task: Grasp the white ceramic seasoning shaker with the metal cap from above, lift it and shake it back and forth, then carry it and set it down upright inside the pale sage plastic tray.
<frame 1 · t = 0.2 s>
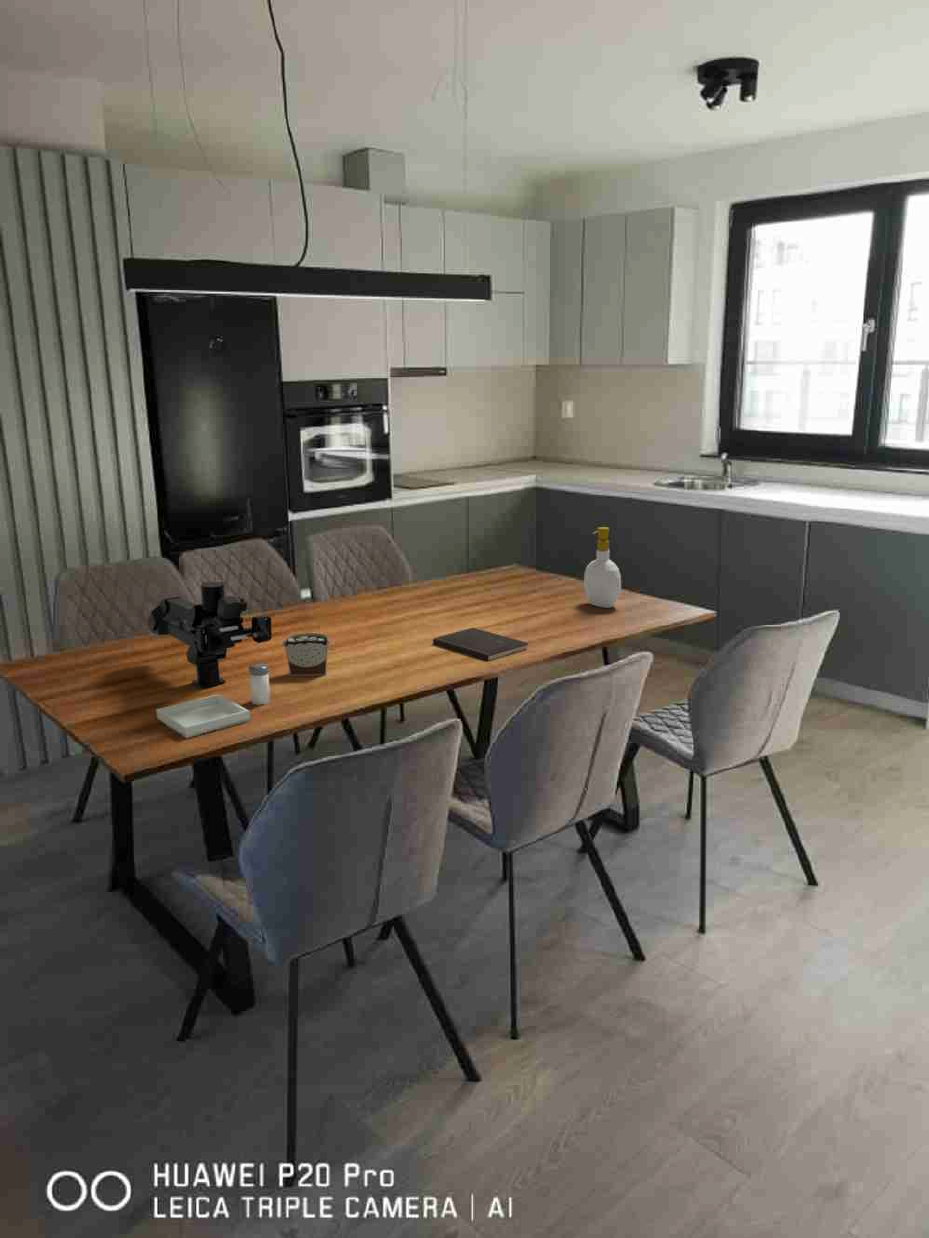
hand: (251, 641, 226), 17 cm above the table, tool horizontal, fingers open, 9 cm apart
shaker: (261, 701, 235), on the table
soap bottle: (600, 606, 318), on the table
hardcover book: (480, 649, 276), on the table
tray: (203, 720, 223), on the table
food container: (309, 672, 257), on the table
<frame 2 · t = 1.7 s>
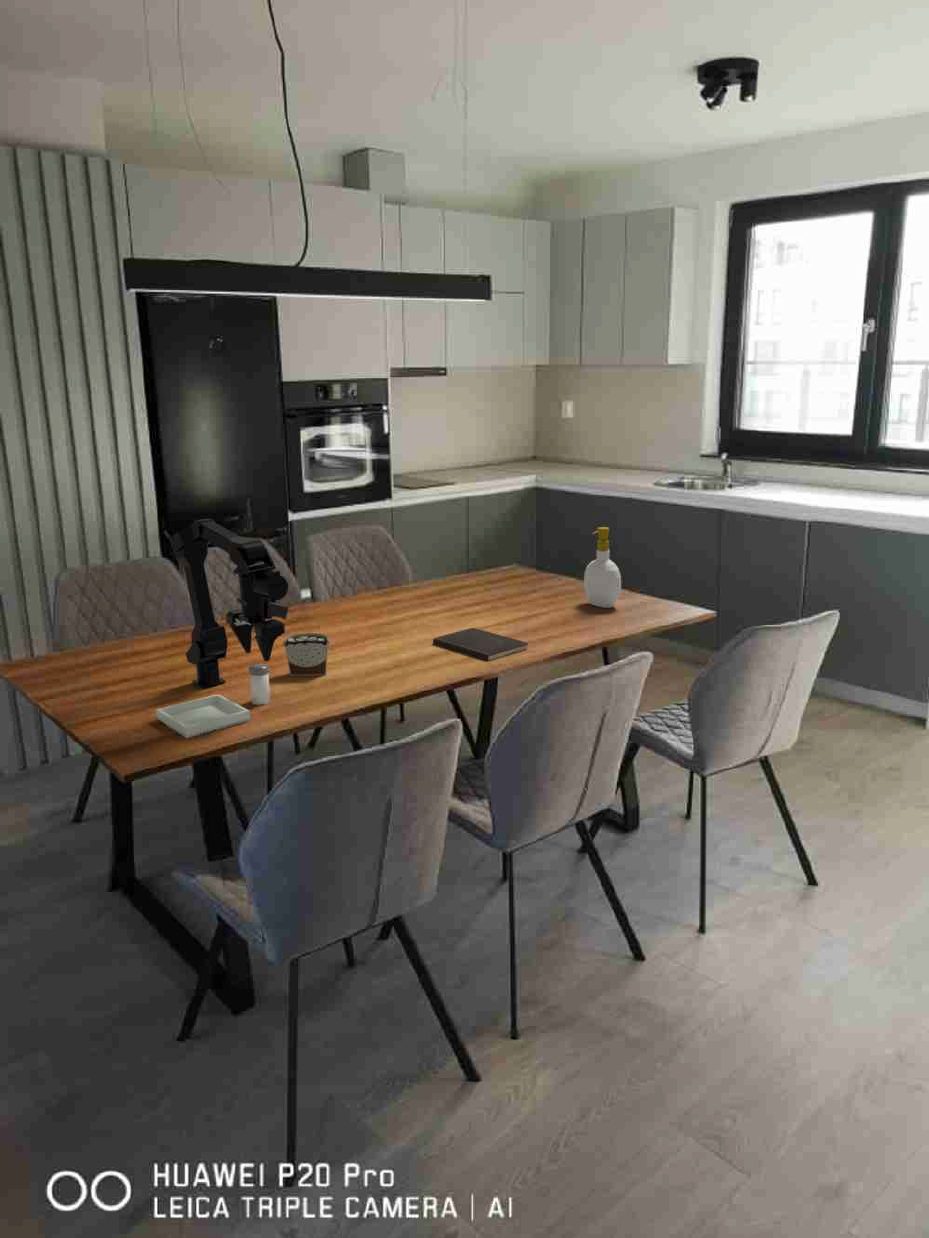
hand: (257, 656, 232), 11 cm above the table, tool pointing down, fingers open, 9 cm apart
nothing on the table moved.
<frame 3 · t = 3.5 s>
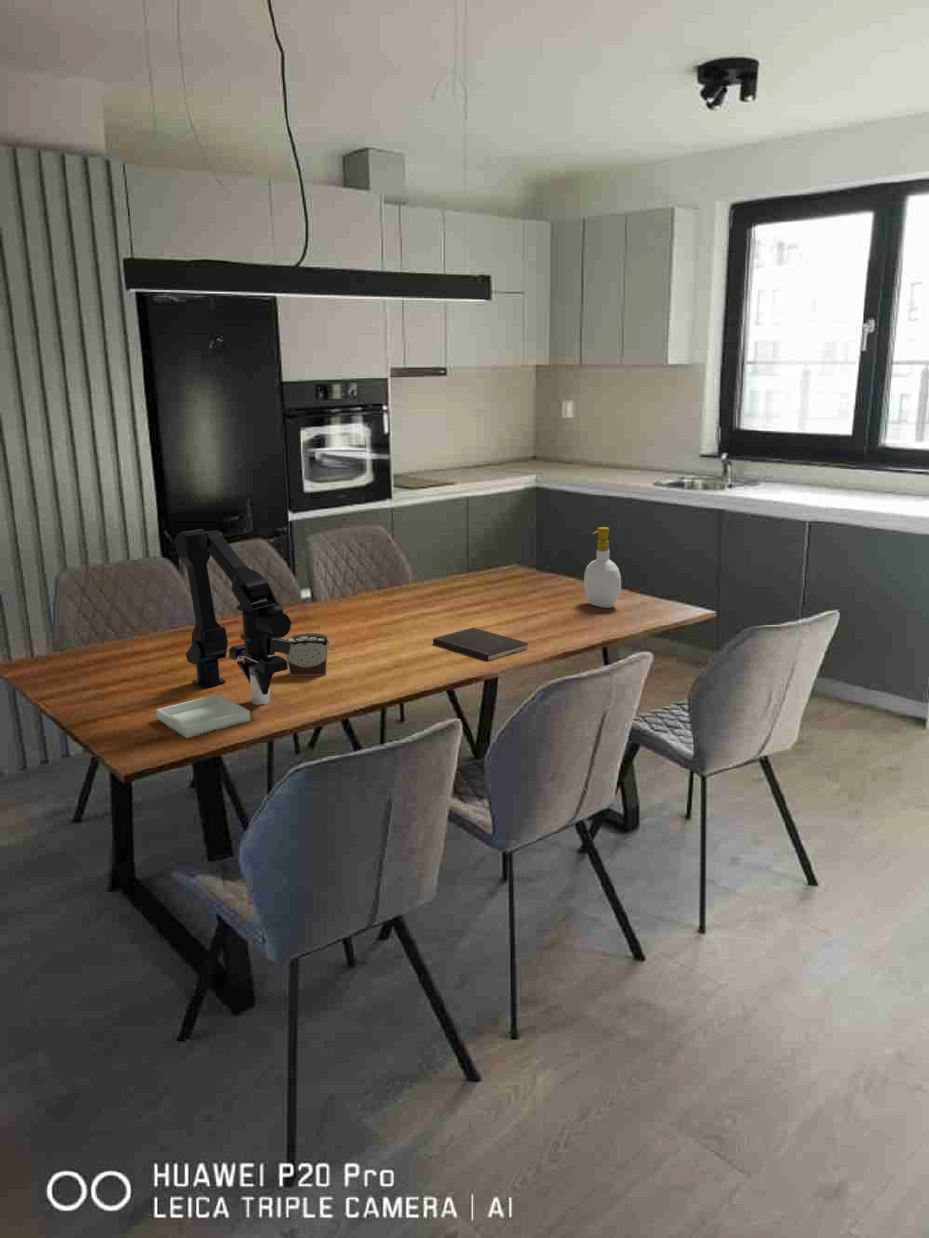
hand: (260, 691, 234), 3 cm above the table, tool pointing down, fingers closed on shaker, 4 cm apart
shaker: (261, 701, 235), on the table, touching gripper
everything else where it was.
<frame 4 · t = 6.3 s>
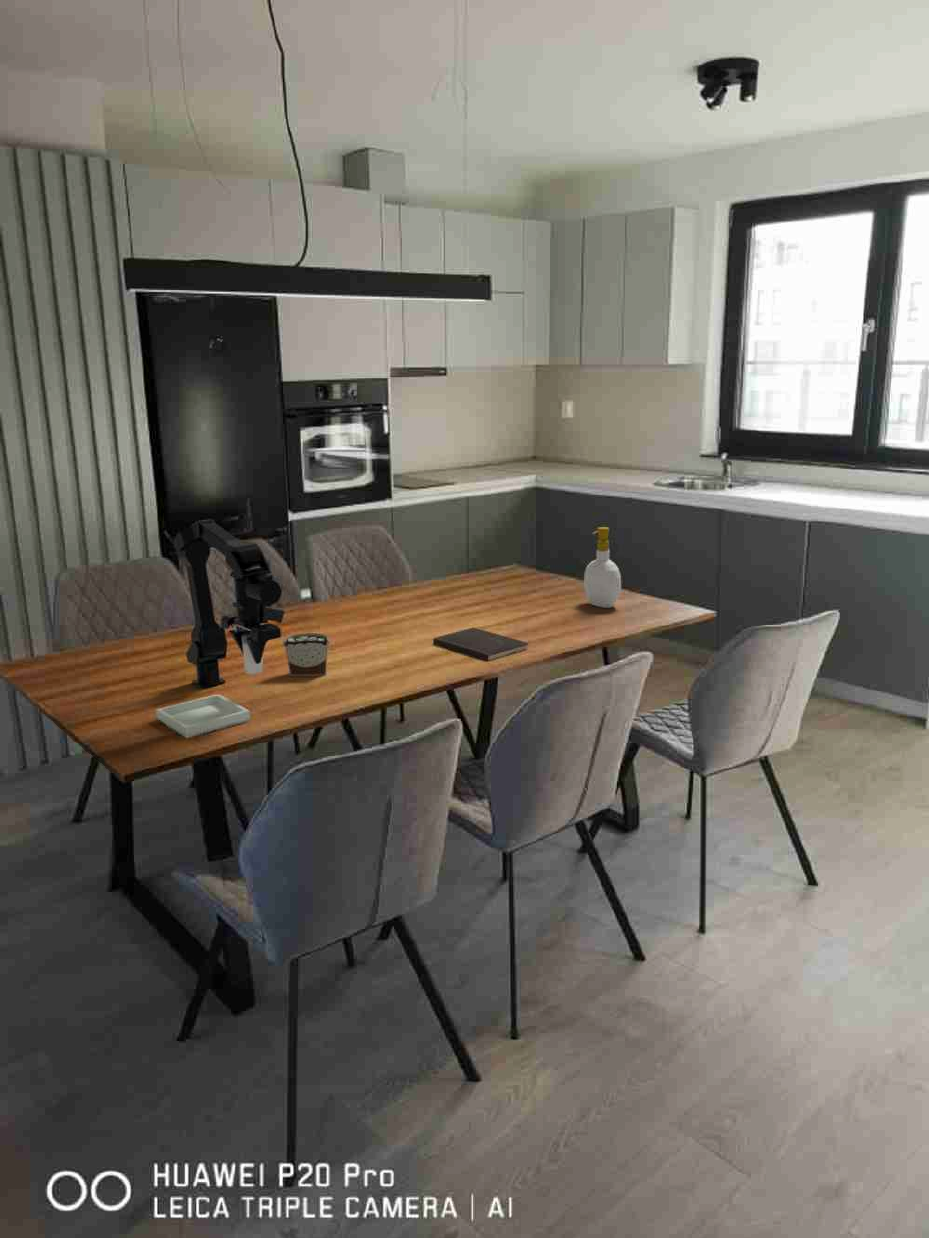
hand: (253, 661, 230), 11 cm above the table, tool pointing down, fingers closed on shaker, 4 cm apart
shaker: (254, 671, 231), point 8 cm above the table, touching gripper
everything else where it was.
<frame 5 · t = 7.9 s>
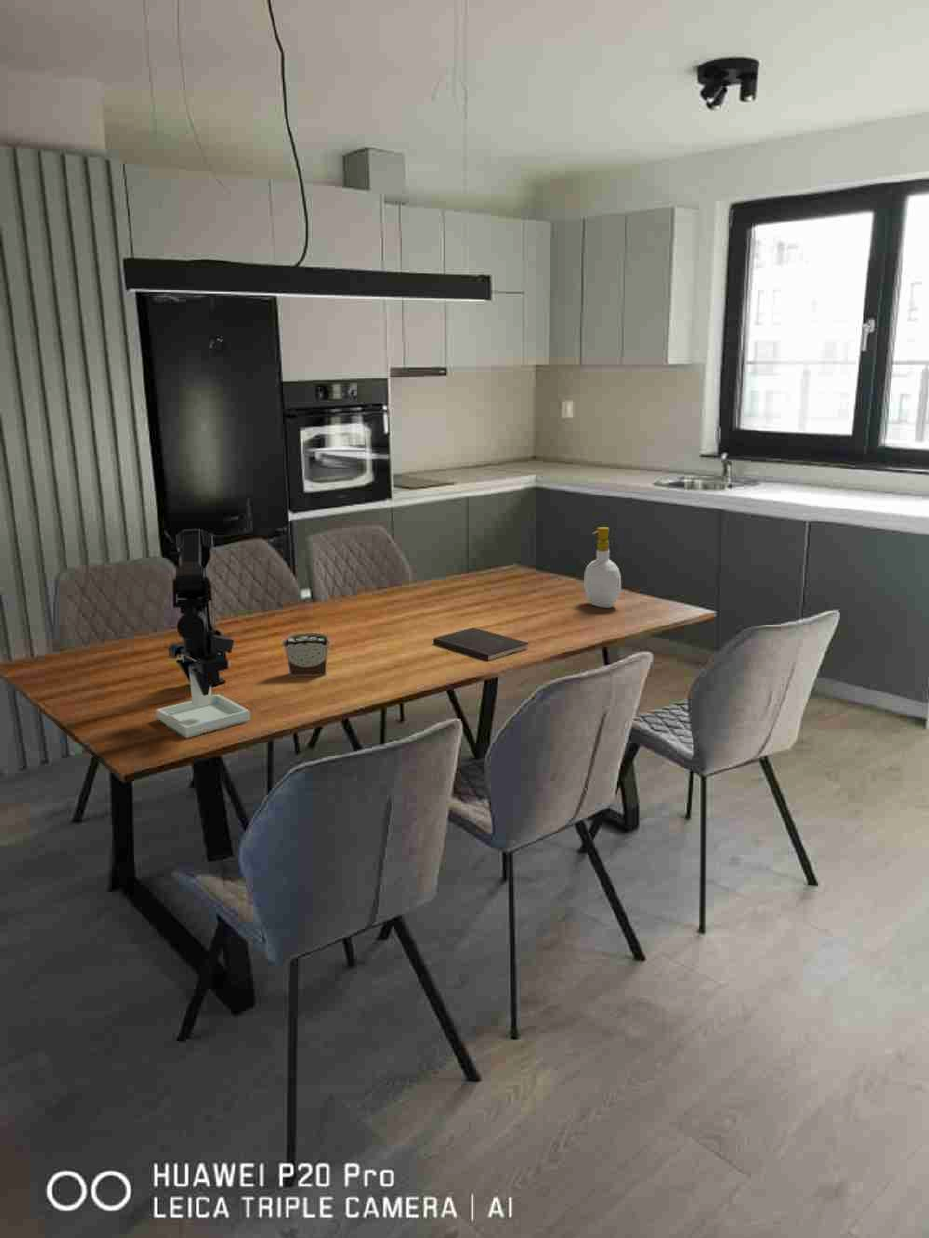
hand: (201, 692, 222), 7 cm above the table, tool pointing down, fingers closed on shaker, 4 cm apart
shaker: (202, 702, 222), point 4 cm above the table, touching gripper
everything else where it was.
when the fingers open (4 cm above the table, at t = 9.1 s): shaker drops 1 cm, resting on tray.
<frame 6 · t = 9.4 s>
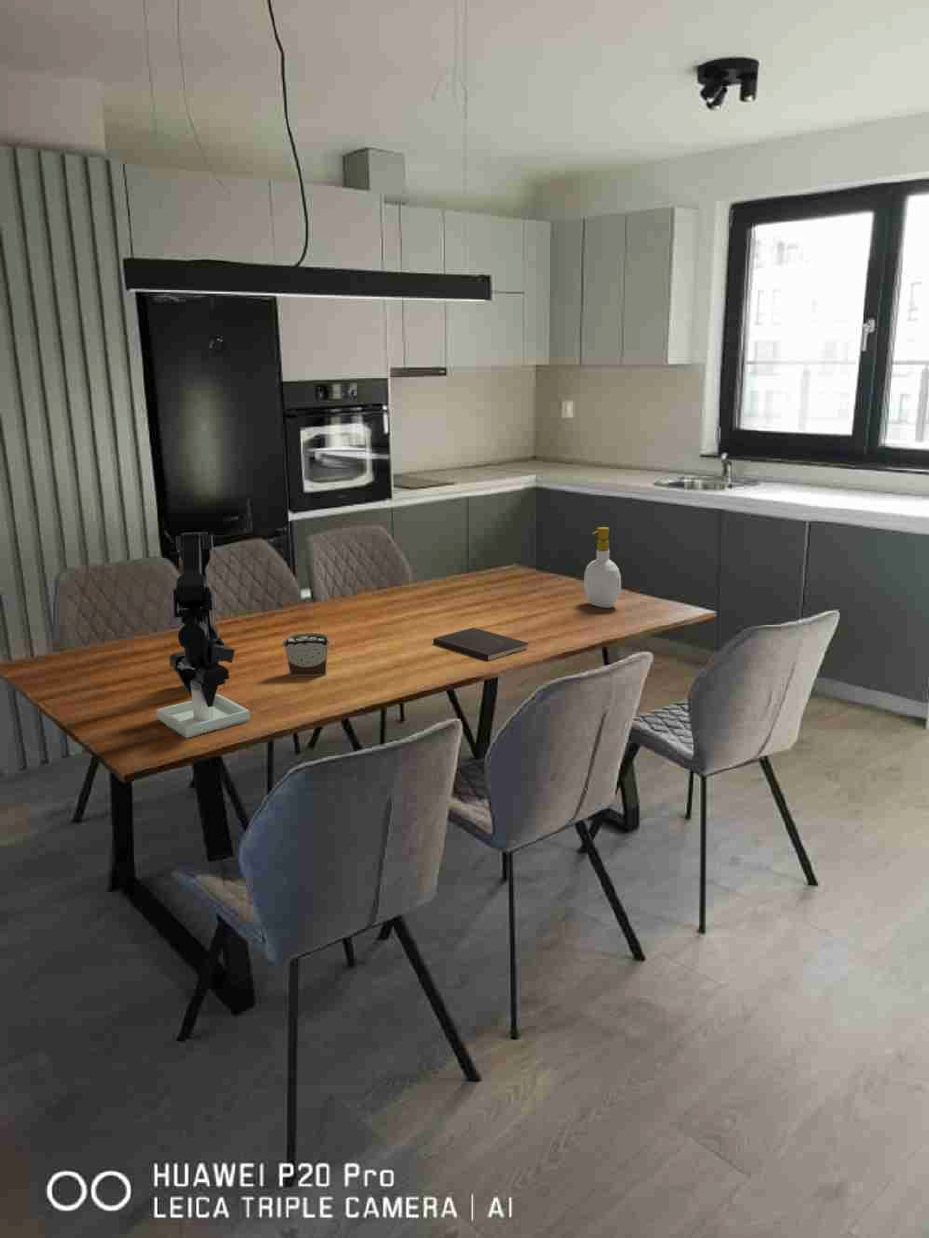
hand: (202, 701, 222), 4 cm above the table, tool pointing down, fingers open, 8 cm apart
shaker: (203, 717, 223), point 1 cm above the table, touching tray
everything else where it was.
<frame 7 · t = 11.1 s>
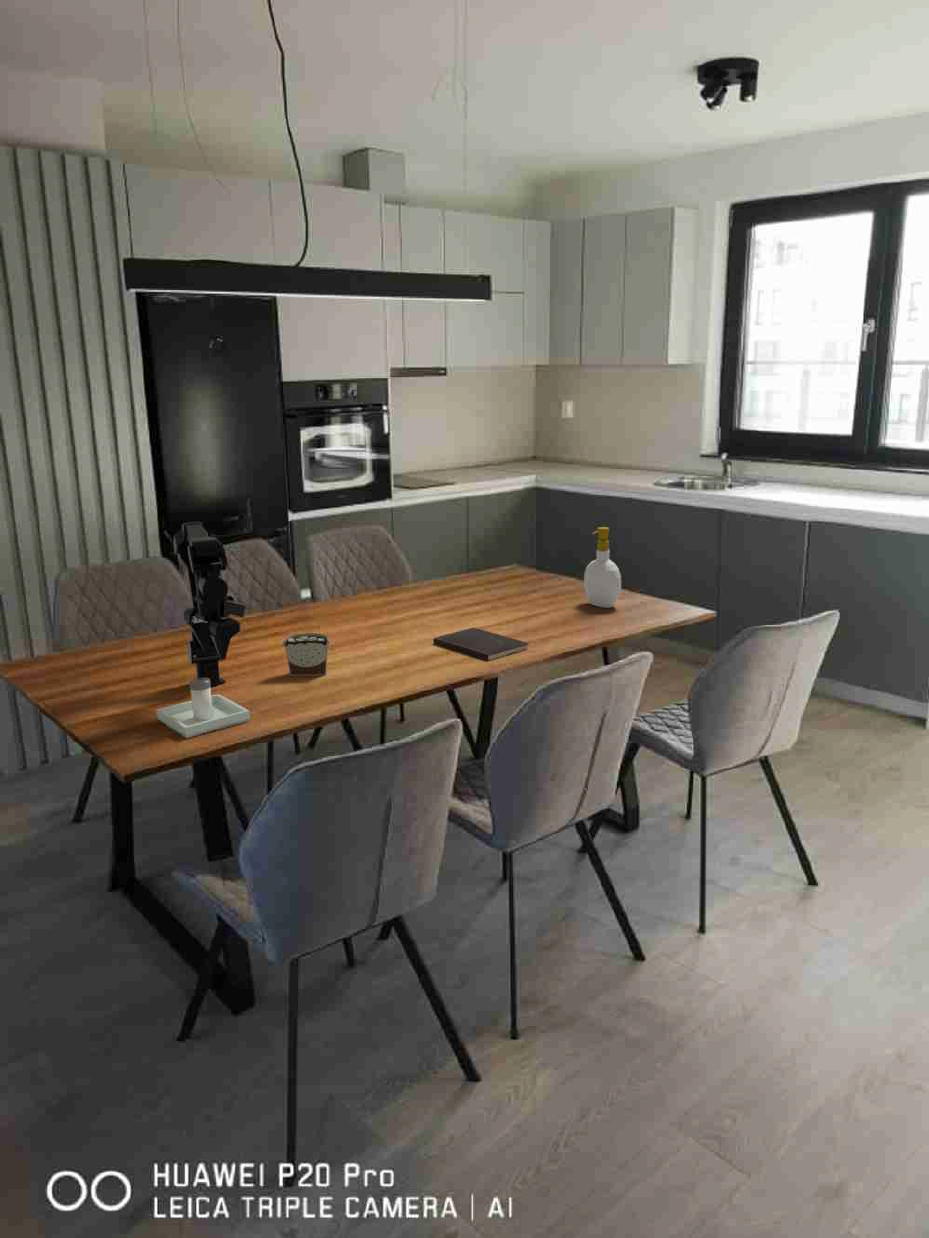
hand: (214, 654, 233), 12 cm above the table, tool pointing down, fingers open, 9 cm apart
nothing on the table moved.
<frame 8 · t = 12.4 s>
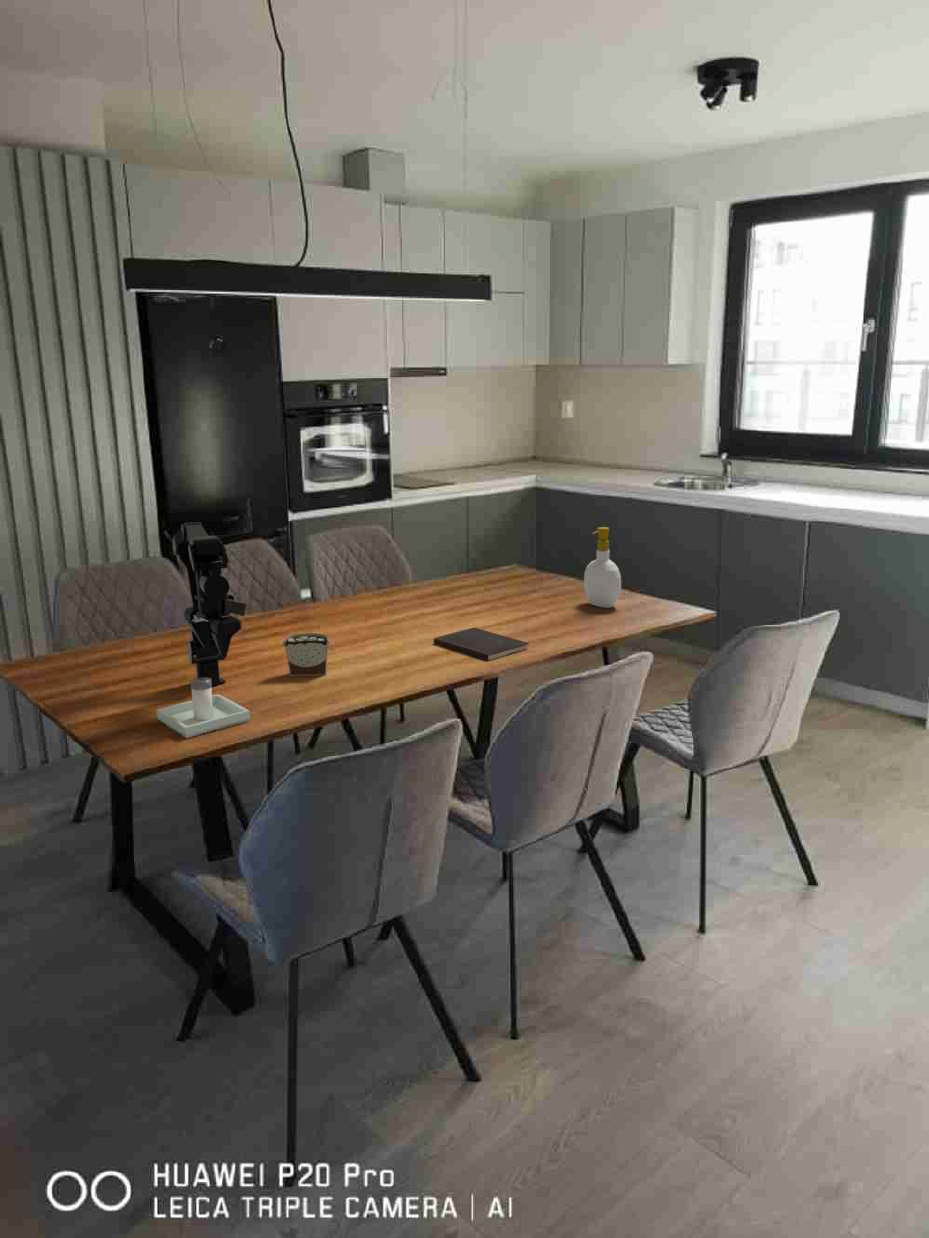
hand: (215, 653, 233), 12 cm above the table, tool pointing down, fingers open, 9 cm apart
nothing on the table moved.
at the end: shaker inside the target area on the tray (0.1 cm from its centre), point 0.6 cm above the tray's base; shaker tilted 1°; the gripper is holding nothing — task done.
